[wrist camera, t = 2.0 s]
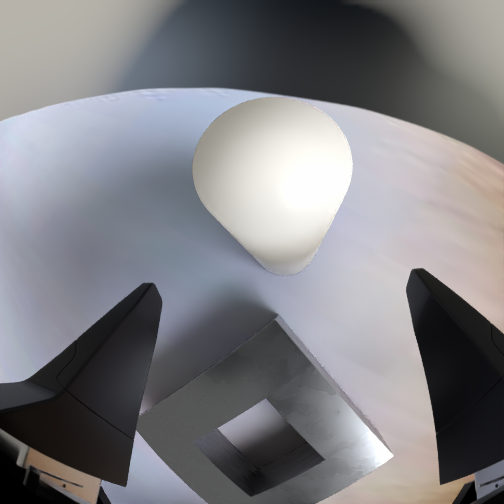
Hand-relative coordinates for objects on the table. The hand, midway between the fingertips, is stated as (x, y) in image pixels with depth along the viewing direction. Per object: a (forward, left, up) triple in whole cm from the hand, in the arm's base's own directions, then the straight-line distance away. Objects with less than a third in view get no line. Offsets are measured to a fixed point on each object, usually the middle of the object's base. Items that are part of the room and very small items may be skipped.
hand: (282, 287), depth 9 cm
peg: (+2, +3, -10) cm, 11 cm away
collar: (-8, -7, -10) cm, 15 cm away
